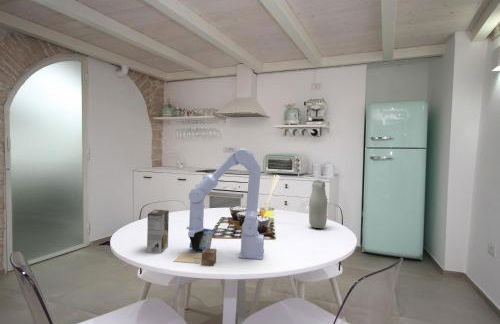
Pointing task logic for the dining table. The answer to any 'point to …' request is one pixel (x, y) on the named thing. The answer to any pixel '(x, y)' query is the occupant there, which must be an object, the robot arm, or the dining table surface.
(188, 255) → the kraft envelope
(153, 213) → the coffee box
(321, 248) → the dining table surface
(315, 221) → the grey bottle
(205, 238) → the medicine box
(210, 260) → the walnut cube
